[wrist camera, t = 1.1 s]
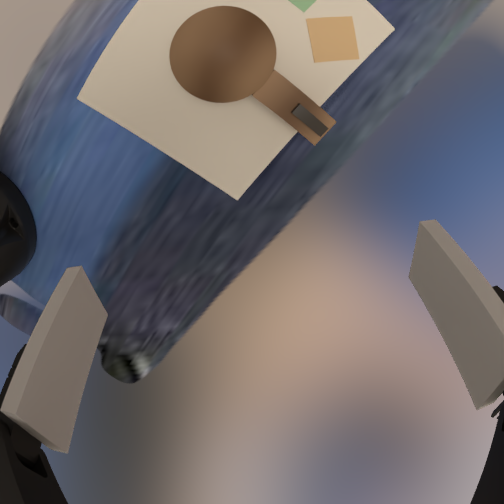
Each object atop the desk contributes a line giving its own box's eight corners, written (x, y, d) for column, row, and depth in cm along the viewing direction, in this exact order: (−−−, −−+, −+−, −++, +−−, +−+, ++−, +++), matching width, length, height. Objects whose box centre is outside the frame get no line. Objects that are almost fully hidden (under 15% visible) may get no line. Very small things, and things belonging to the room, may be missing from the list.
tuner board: (82, 96, 23) (76, 98, 22) (230, -89, 14) (230, -94, 13) (237, 194, 30) (237, 200, 29) (389, 29, 21) (395, 29, 20)
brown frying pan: (163, 65, 21) (149, 67, 18) (217, -1, 18) (213, -13, 15) (287, 152, 27) (297, 171, 23) (340, 94, 24) (360, 103, 20)
